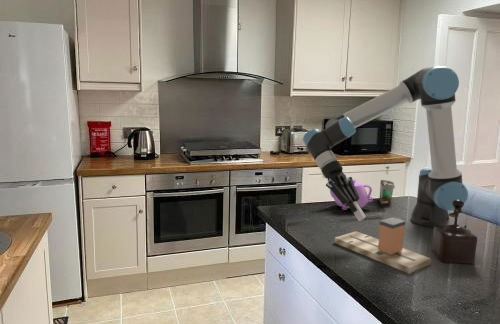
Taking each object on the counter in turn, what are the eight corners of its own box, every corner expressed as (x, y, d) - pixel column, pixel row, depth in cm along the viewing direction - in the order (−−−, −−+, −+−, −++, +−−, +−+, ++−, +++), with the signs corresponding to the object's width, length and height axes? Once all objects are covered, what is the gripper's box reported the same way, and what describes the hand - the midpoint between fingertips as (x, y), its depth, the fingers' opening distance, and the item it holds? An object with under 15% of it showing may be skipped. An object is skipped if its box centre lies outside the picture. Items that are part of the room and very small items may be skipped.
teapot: (326, 211, 183) (328, 182, 181) (323, 202, 198) (324, 175, 196) (375, 213, 182) (378, 184, 179) (368, 204, 197) (370, 176, 194)
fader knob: (377, 249, 135) (379, 220, 133) (389, 245, 139) (392, 217, 137) (390, 255, 131) (393, 225, 129) (402, 250, 135) (405, 221, 133)
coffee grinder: (477, 265, 130) (484, 211, 127) (442, 263, 131) (448, 210, 128) (456, 246, 146) (462, 198, 142) (425, 245, 146) (430, 197, 143)
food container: (395, 206, 194) (396, 186, 192) (381, 205, 195) (383, 185, 193) (391, 199, 206) (393, 180, 204) (379, 198, 207) (380, 179, 205)
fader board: (334, 242, 147) (334, 237, 146) (355, 236, 154) (356, 230, 153) (409, 273, 123) (409, 267, 123) (430, 264, 130) (430, 258, 130)
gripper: (334, 169, 159) (366, 220, 149) (311, 172, 151) (344, 227, 141) (346, 157, 154) (380, 210, 144) (323, 161, 146) (357, 217, 136)
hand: (362, 218), depth 143 cm, fingers closed
